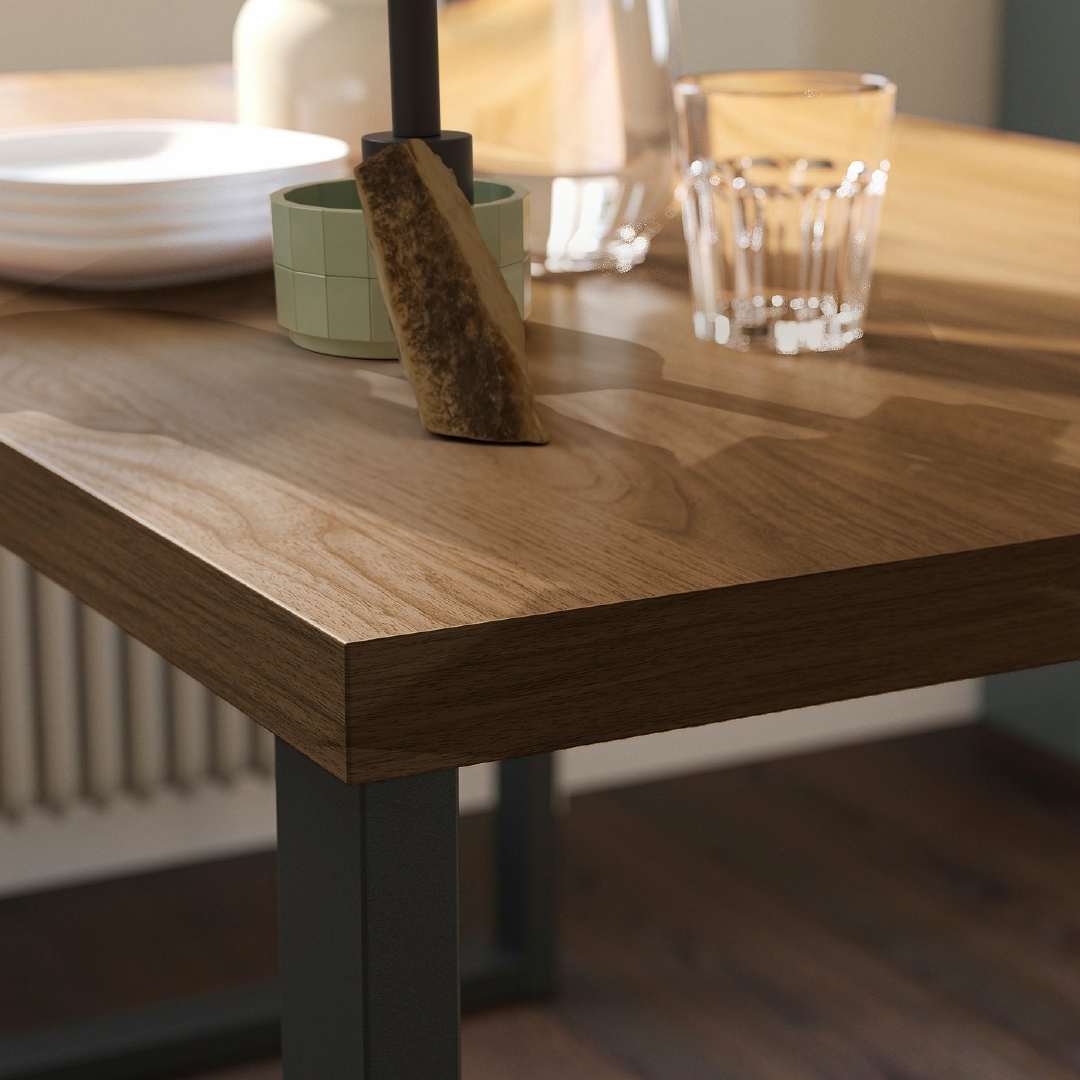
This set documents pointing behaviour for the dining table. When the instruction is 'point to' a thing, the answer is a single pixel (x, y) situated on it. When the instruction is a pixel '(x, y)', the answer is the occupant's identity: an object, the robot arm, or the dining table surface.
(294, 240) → the bowl
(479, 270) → the rock
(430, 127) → the dark weighted post stand
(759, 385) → the dining table surface
